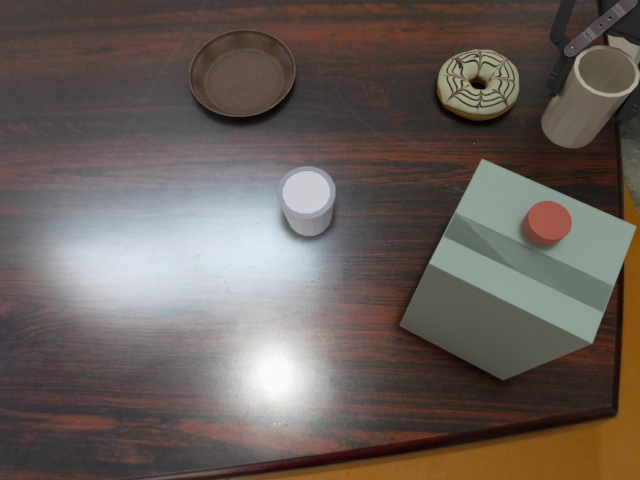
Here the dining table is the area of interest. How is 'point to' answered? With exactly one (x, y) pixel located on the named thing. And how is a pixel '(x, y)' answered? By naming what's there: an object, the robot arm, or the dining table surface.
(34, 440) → the dining table surface
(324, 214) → the white short cylinder
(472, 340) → the box with red button
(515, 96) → the decorated donut
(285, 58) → the saucer
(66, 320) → the dining table surface
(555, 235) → the brew button
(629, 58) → the cream cup
